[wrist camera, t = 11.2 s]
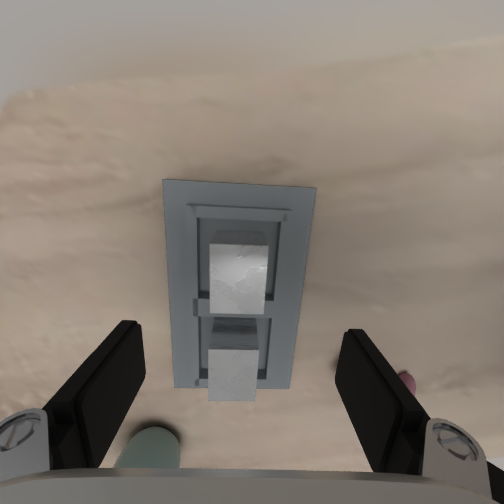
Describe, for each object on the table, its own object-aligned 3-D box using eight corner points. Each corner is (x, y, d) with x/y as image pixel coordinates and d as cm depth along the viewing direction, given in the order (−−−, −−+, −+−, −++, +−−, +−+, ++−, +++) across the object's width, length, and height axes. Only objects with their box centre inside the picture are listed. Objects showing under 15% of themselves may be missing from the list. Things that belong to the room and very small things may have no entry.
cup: (159, 464, 33) (126, 579, 24) (115, 437, 31) (61, 550, 22) (198, 437, 32) (179, 547, 23) (154, 407, 30) (114, 513, 21)
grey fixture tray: (313, 187, 22) (321, 189, 20) (287, 382, 30) (291, 399, 27) (165, 179, 22) (156, 179, 19) (176, 380, 29) (170, 399, 26)
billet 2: (256, 317, 25) (259, 350, 21) (252, 362, 27) (255, 401, 22) (214, 316, 25) (208, 349, 20) (214, 361, 27) (208, 400, 22)
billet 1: (263, 231, 22) (268, 246, 18) (259, 287, 24) (263, 314, 20) (216, 229, 22) (209, 243, 18) (216, 286, 24) (209, 313, 19)
